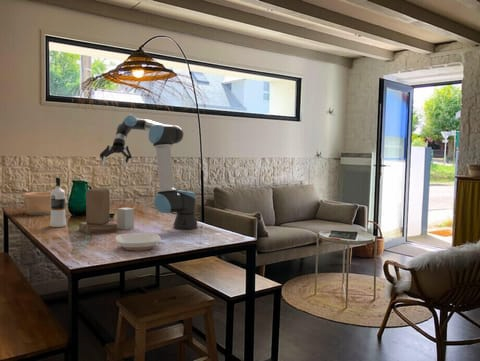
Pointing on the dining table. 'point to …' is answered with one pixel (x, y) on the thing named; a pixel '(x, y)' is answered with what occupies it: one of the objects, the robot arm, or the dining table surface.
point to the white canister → (125, 218)
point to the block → (97, 206)
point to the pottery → (38, 203)
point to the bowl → (138, 241)
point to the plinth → (97, 228)
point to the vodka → (57, 206)
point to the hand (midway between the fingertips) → (113, 165)
